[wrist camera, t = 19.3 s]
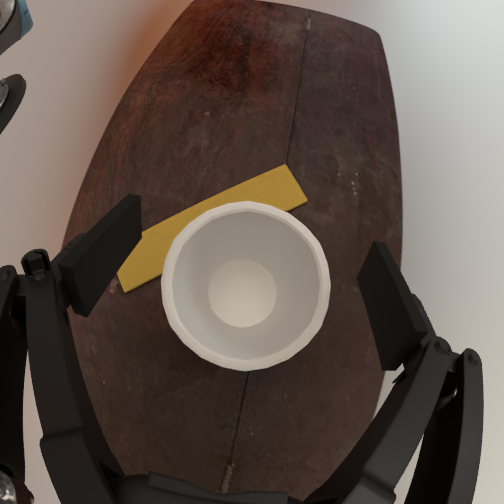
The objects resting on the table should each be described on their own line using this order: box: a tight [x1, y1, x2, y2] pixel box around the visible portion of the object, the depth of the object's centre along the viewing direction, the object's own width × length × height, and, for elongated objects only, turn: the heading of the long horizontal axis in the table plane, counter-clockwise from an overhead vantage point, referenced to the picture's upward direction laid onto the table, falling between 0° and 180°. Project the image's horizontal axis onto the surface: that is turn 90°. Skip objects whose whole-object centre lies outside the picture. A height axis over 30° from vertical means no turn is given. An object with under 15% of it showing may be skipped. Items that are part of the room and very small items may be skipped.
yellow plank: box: [117, 164, 308, 293], centre depth 29 cm, size 22×5×1 cm, turn 118°
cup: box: [161, 201, 331, 371], centre depth 22 cm, size 10×10×13 cm
